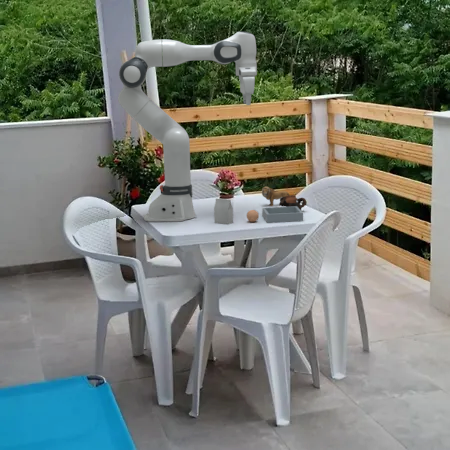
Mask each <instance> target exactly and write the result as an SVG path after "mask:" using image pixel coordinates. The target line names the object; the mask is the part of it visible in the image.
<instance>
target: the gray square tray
mask: <svg viewBox="0 0 450 450" xmlns="http://www.w3.org/2000/svg"><path fill="white" fill-rule="evenodd" d="M261 210H262V213H261V214H262V216H261V217H262V218H263V219H264V220H265V222H266V224H267V223H269V224H271V223H273V222H275V223H291V222H304V212H303V211H302V209H301V210H300V209H299V208H298V207H297V206H292V207H285V206H278V207H277V206H275V207H274V206H270V207H262V208H261Z"/></svg>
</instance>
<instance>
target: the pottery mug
mask: <svg viewBox="0 0 450 450" xmlns="http://www.w3.org/2000/svg"><path fill="white" fill-rule="evenodd" d="M306 204H307V200H306V199H305V198H304V197H299V198H297V197H296V195H294V194H291V195H290V194H289V196H285V197H282V198H281V199H279V203H278V207H292V206H297V207H298V208H299V209H300V210H301V211H302V208H304V207H305V206H306Z"/></svg>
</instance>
